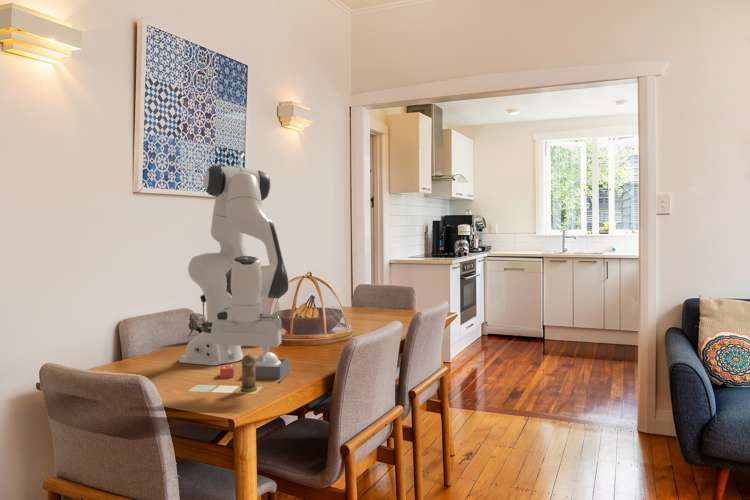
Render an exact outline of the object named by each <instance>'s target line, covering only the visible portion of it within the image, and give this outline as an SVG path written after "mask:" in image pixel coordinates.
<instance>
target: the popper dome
mask: <svg viewBox="0 0 750 500" xmlns="http://www.w3.org/2000/svg"><path fill="white" fill-rule="evenodd" d="M278 358H279V357H278V356H277V355H276V354H275V353H274V352H271V351H268V352H267V354H266V355H265V362H259V360H258V361H257V362H256V363H255V365H256V366H279V365H280V364H281V361H279V360H278Z"/></svg>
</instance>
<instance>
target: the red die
mask: <svg viewBox="0 0 750 500" xmlns="http://www.w3.org/2000/svg"><path fill="white" fill-rule="evenodd" d="M235 367H236V366H235V365H232V364H231V365H221V366H220V369H219V376H220V377H219V378H220V379H223V378H225V379H226V378H228V379H229V378H234V377H235V374H236V373H235V372H236V370H235V369H236V368H235Z"/></svg>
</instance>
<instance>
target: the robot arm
mask: <svg viewBox="0 0 750 500" xmlns="http://www.w3.org/2000/svg"><path fill="white" fill-rule="evenodd" d="M203 177H204V178H203V185H204V190H205V192H206V193H207V194H208V195H209V196H212V197H214V198H215V200H214V203H213V204H214V206H213V211H212V217H211V225H210V226H211V228H210V235H211V237H212V238H213V239H214V241H216V242H218V243H219V247H220V251H219V252H206V253H201V254H199V255H196V256H193V257H192V258H191V259H190V261H189V264H188V265H187V266H188V267H187V268H188V269H187V271H188V275H189V277H190V279H191V280H192V281H193V282H194V283H195V284H196V285H197V286H199V287H200V289H201V291H202V293H203V294H204V295H205V299H206V302H205V304H206V321H205V322H204V323H203V324H201V325H202V326H201V327H200V328H202V327H203V331H202V332H201V333H200V334H199V333H198V334H197V335H196V336H195V337H194V338H192V339H191V340H190V341H189V342H188V343H187V345H186V349H185V354H184V355H182V356H180V357H179V359H178V362H179V363H180V364H181V363H182V364H192V365H194V364H195V365H203V366H205V365H206V366H217V365H223V364H230V363H231V364H232V363H236V362H238V361H242V358H243V357H244V354H243V351H242V350H243V349H242V347H256V348H257V347H259V348H261V349H262V351H263V353H262V354H260V355H258V358H259V362H265V355H266V354H267V352H270V348H278V347H279V346H281V344H282V331H281V329H282V319H281V317H279V316H278V315H277V314H269V313H263V301H262V298H268V299H280V298H281V297H283V296H284V295H285V294H287V292H288V290H289V287H290V280H289V275H288V272H287V270H286V267H285V263H284V258H283V255H282V249H281V246H280V243H279V238H278V234H277V230H276V227H275V225H274V221H273V220H272V219H270V218H268V216H267V215H266V214H265V212H264V211H263V204H262V201H264V200H265V199H266V198H268V196H269V193H270V191H271V179H270V176H269V175H268V173H266V172H264V171H261V170H256V169H251V168H246V167H241V166H239V167H238V166H237V167H236V166H221V165H210V166H209V167H208V168H207V170H206V172H205V174H204V176H203ZM244 234H245V235H248V236H250V237H254V239H255V238H256V239H257V240H260V242H262V243H263V244H264V246H265V249H266V253H267V258H268V263H269V265H261V260H260V259H259V258H258V257H255V256H251V255H250V254H249V253H248V252H247V249H246V247H245V244H244V236H243V235H244Z"/></svg>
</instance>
